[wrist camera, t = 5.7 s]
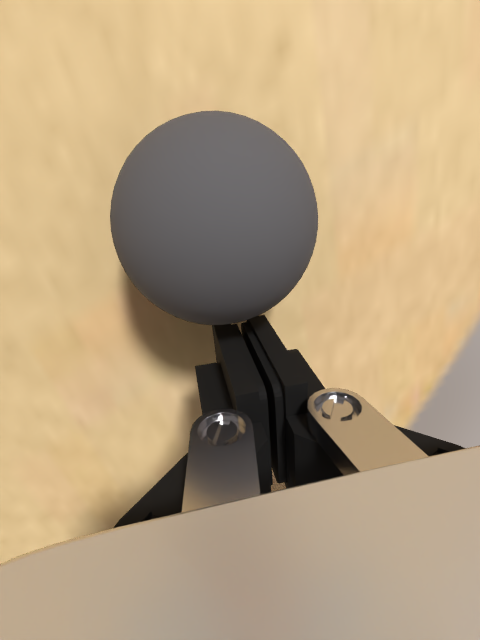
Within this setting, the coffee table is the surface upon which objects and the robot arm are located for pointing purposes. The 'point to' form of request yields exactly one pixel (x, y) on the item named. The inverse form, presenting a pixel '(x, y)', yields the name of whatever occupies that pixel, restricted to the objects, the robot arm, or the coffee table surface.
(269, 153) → the grey ball
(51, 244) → the coffee table surface
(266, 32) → the coffee table surface
